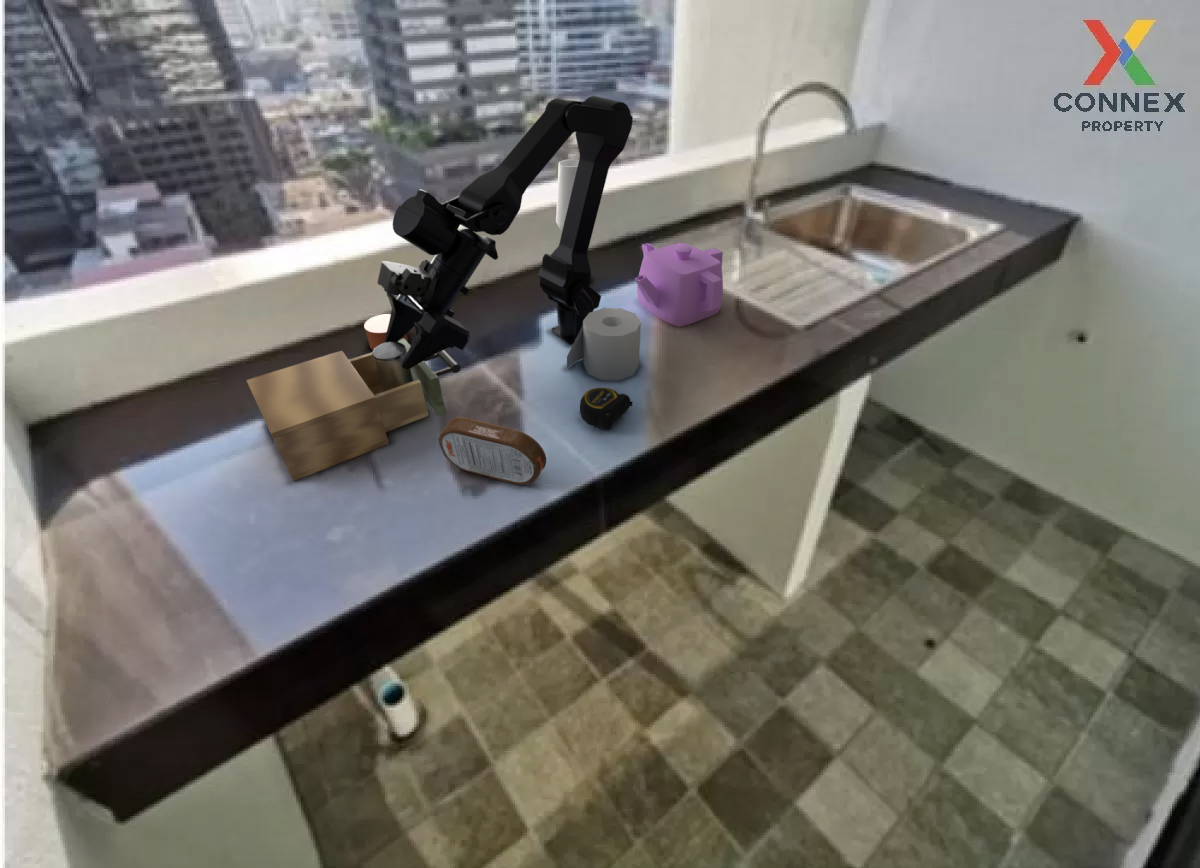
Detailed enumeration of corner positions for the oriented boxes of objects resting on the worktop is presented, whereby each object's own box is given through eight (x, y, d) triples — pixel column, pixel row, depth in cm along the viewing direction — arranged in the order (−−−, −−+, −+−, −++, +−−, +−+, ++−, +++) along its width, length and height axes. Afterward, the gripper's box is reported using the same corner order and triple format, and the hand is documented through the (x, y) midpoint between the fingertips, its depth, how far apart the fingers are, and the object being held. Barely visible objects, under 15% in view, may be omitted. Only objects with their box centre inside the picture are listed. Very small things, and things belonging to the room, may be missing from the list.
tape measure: (608, 437, 90) (609, 418, 87) (571, 421, 93) (570, 402, 90) (632, 413, 94) (633, 394, 92) (595, 399, 97) (595, 380, 95)
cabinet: (356, 395, 98) (341, 350, 92) (389, 443, 89) (375, 396, 83) (267, 426, 92) (246, 380, 86) (293, 481, 83) (270, 433, 77)
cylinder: (422, 392, 95) (412, 346, 90) (403, 408, 92) (390, 361, 86) (399, 384, 97) (387, 338, 91) (379, 400, 93) (365, 353, 88)
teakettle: (719, 332, 113) (728, 270, 105) (629, 324, 115) (632, 263, 107) (721, 290, 126) (729, 232, 118) (640, 284, 128) (643, 227, 120)
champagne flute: (580, 271, 133) (577, 155, 117) (596, 283, 128) (595, 164, 113) (553, 278, 130) (546, 161, 115) (568, 291, 126) (564, 170, 110)
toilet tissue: (555, 368, 104) (553, 324, 98) (618, 345, 109) (619, 302, 104) (584, 394, 98) (583, 349, 92) (649, 368, 104) (651, 324, 98)
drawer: (439, 363, 103) (432, 329, 99) (475, 402, 95) (469, 366, 90) (337, 399, 95) (324, 363, 91) (366, 444, 87) (353, 407, 83)
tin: (549, 479, 83) (545, 432, 78) (539, 494, 81) (535, 447, 75) (452, 455, 87) (442, 408, 81) (441, 469, 84) (430, 422, 79)
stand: (413, 344, 110) (409, 325, 107) (377, 356, 106) (371, 337, 104) (399, 329, 114) (395, 310, 111) (364, 340, 111) (358, 320, 108)
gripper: (381, 218, 87) (326, 309, 90) (434, 264, 76) (369, 366, 78) (441, 257, 96) (389, 338, 98) (497, 303, 84) (437, 394, 87)
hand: (395, 357), depth 90 cm, fingers open, 7 cm apart
